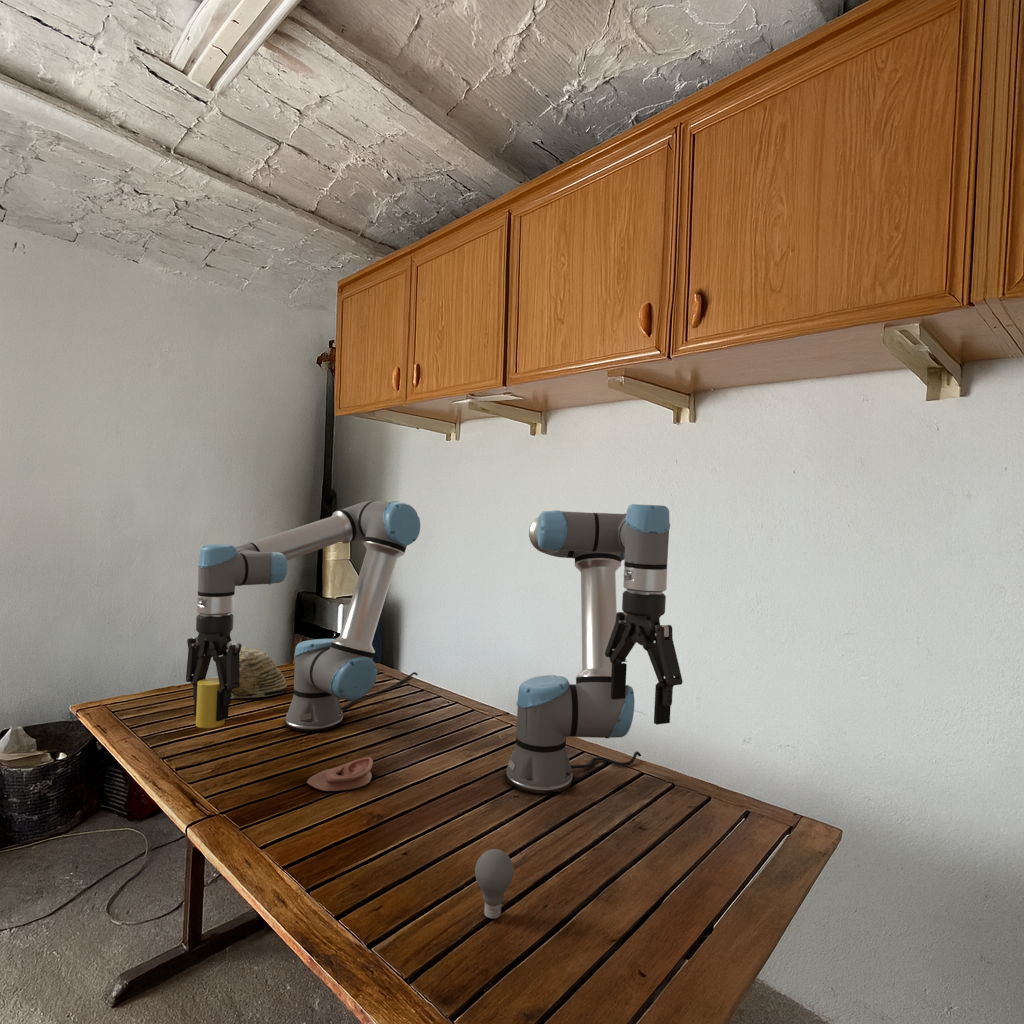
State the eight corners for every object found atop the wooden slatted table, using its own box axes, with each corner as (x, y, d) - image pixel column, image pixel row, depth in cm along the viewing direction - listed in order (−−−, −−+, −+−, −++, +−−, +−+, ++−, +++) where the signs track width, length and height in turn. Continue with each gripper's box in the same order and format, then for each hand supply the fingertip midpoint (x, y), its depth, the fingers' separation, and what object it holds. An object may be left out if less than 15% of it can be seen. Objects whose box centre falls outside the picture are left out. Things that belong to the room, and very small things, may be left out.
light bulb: (472, 903, 100) (475, 841, 100) (510, 903, 101) (513, 841, 101) (473, 929, 94) (476, 863, 94) (513, 928, 95) (516, 862, 95)
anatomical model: (300, 769, 137) (326, 749, 148) (299, 787, 137) (325, 766, 148) (357, 777, 134) (379, 756, 146) (356, 796, 134) (378, 773, 146)
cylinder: (223, 727, 140) (224, 684, 140) (193, 729, 138) (195, 685, 138) (226, 718, 145) (227, 677, 145) (197, 720, 143) (199, 678, 143)
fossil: (218, 695, 195) (220, 647, 195) (278, 685, 208) (279, 640, 207) (228, 703, 189) (230, 653, 188) (289, 692, 201) (290, 645, 201)
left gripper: (169, 611, 141) (165, 714, 141) (235, 621, 134) (230, 729, 135) (197, 607, 148) (193, 705, 148) (260, 615, 141) (256, 718, 142)
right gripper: (590, 582, 122) (585, 691, 123) (670, 603, 99) (663, 737, 100) (623, 581, 125) (618, 688, 126) (708, 602, 102) (702, 732, 103)
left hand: (210, 716), depth 142 cm, fingers closed on cylinder, 6 cm apart
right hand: (638, 710), depth 113 cm, fingers open, 13 cm apart
